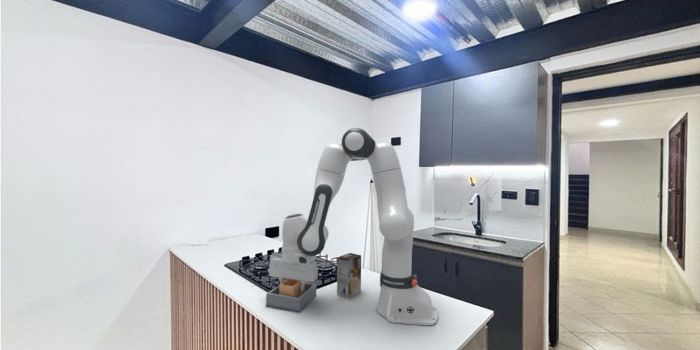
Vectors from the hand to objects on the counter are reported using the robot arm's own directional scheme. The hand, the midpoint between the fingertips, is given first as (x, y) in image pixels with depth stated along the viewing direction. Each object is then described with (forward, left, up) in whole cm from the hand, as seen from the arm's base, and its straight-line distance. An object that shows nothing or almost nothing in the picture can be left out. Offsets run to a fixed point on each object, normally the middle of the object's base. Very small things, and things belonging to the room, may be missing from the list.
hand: (292, 289), depth 112 cm
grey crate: (0, 0, -5) cm, 5 cm away
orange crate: (0, 0, -3) cm, 3 cm away
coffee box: (-19, -14, -5) cm, 24 cm away
